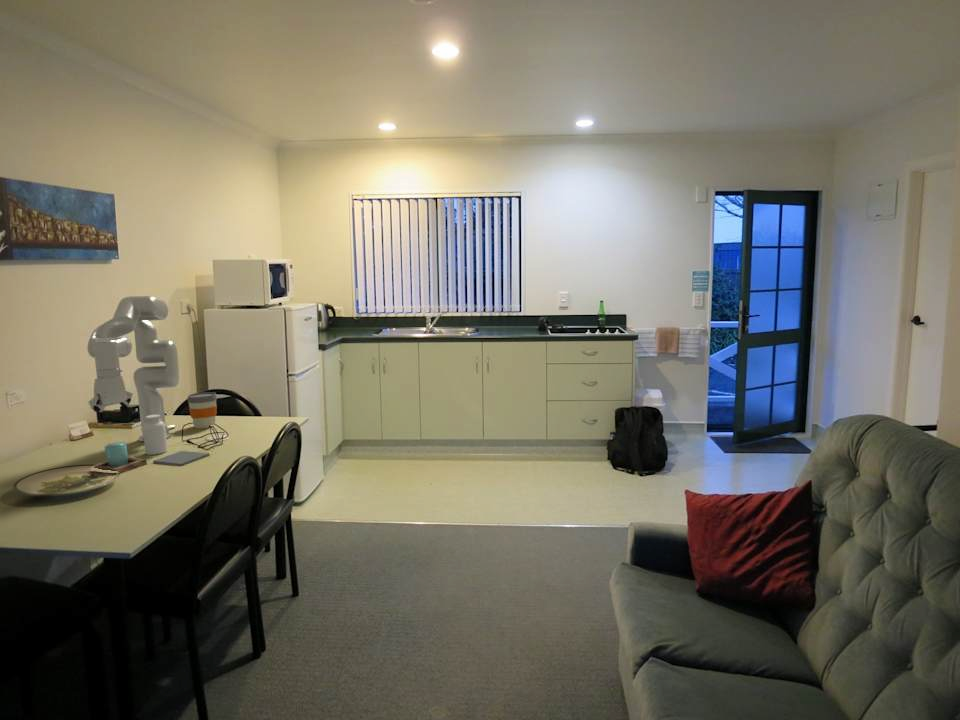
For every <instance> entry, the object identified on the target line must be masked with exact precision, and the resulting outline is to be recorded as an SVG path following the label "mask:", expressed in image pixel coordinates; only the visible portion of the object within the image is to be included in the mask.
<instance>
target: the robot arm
mask: <svg viewBox="0 0 960 720" xmlns="http://www.w3.org/2000/svg"><path fill="white" fill-rule="evenodd" d="M168 315H169V308H168V305H167V303H166V302H165V300H163V299H160V298H158V297H156V296H152V295H137V296H136V295H135V296H126V297H123V298H122V299H121V300H120V301H119V303H118V304H117V306H116V309H115V311H114V314H113V317H112V318H111V319H109V320H108V321H107V320H106V321H105V322H104V323H102V324H101V325H99V326H97V327H96V328H95V329H94V330H93V331H92V332H91V334H90V337H89V340H88V342H87V352H88V353H87V354H89V356H90V357H91V358H94V363H95V370H96V371H95V372H96V378H94V384H93V397H92V398H90V400H88V404H89V406H90V408H91V410H93V411H94V412H95V414H96V420H97V423H98V424H105V423H106V413H105V411H104V410H105V408H106V407H108V406H113V405H118V404H119V412H120V417H121V418H129V408H128V407H130V403H131V401H132V398H133V393H132V392H130V391H127V390H126V385H125V382H124V379H123V376H122V375H121V373H122V371H123V369H122V368H121V367H120V358H125V357H128V356H129V355H130V354H131V353H132V351H133V345H132V342H131V341H130V339H128V338H127V337H123V336H126V335H127V334H130V333H132V332H133V331H134V342H135V344H134V345H135V355H136V356H135V357H136V360H137V361H138V362H139V363H141V364H162V363H164V365H153V366H152V365H151V366H141V367H139V368H137V369H135V371H134V372H133V382H134V385H135V388H136V392H137V393H136V394H137V399H138V400H137V401H138V409H139V410H138V411H139V418H140V427H141V435H140V436H138V437H137V439H138V441H140V442H141V441H142V442H141V443H143V442H144V434H143V425H144V424H145V423H147V422H146V419H145V417H146V416H149V415H160V419H161V420H160V421H162V422H164V424H165V430H166V440H168V439H169V438H171V437H172V434H171V433H170V431H172V430H175V428H176V427H175V425H174V424H172V425H166V423H167V422H166V414H165V412H166V411H165V406H164V405H165V404H164V402H165V401H164V397H163V395H162V394H161V392H160V391H159V390H158V389H162V388H163V389H166V388H167V389H169V388H175V387H176V386H178V384H179V381H180V370H179V360H178V359H179V356H178V349H177V348H178V347H177V345H176V343H174V341H172V340H167V339H165V340H159V339H158V332H157V328H156V327H155V325H154V324H153V323H152V321H163V320H165V319H167V317H168Z"/></svg>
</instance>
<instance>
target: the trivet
mask: <svg viewBox="0 0 960 720" xmlns="http://www.w3.org/2000/svg"><path fill="white" fill-rule="evenodd" d="M209 456H210V453H206V452H198V451H197V452H196V451H188V450H187V451H186V450H179V451H177V452H175V453H172V454H169V455H166V456H163V457H160V458H158V459H155V460H152V463H153V464H158V465H168V466H177V467H179V466H180V467H183V466H186V465H188V464H190V463H193V462H197V461H199V460H201V459H203V458H207V457H209Z"/></svg>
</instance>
